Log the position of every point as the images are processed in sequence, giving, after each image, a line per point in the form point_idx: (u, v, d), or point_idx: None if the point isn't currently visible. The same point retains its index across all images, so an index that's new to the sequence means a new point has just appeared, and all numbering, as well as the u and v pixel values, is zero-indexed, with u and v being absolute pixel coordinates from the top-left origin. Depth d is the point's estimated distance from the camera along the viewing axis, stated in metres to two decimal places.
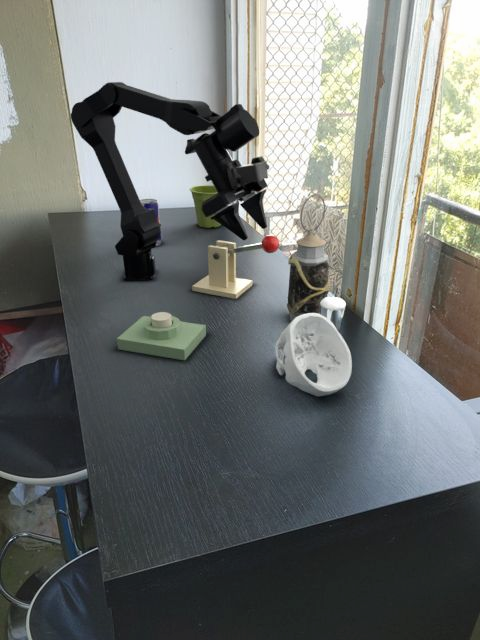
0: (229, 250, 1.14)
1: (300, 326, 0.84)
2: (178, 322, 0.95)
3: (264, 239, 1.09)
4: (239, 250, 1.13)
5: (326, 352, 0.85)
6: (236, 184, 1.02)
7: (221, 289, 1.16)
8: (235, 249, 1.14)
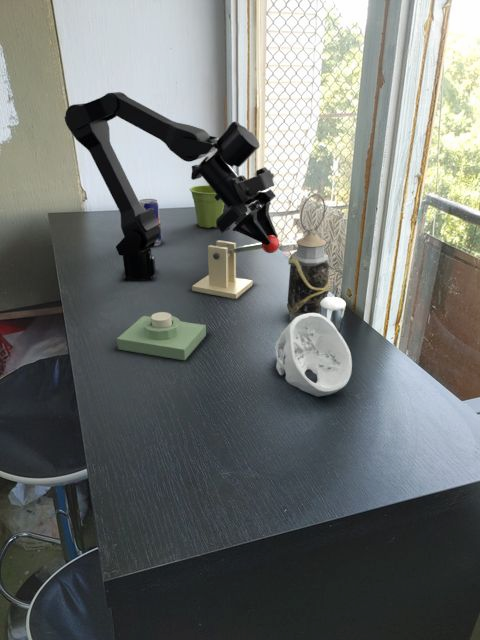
0: (229, 250, 1.14)
1: (300, 326, 0.84)
2: (178, 322, 0.95)
3: None
4: (239, 250, 1.13)
5: (326, 352, 0.85)
6: (245, 197, 1.05)
7: (221, 289, 1.16)
8: (235, 249, 1.14)
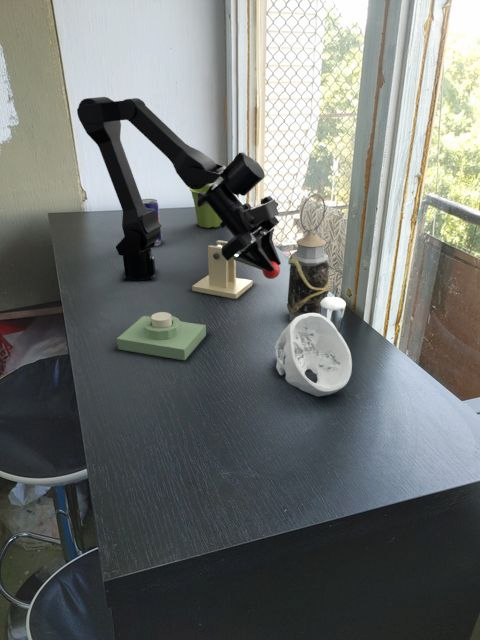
0: None
1: (300, 326, 0.84)
2: (178, 322, 0.95)
3: None
4: (239, 260, 1.14)
5: (326, 352, 0.85)
6: (250, 225, 1.07)
7: (221, 289, 1.16)
8: (236, 257, 1.14)
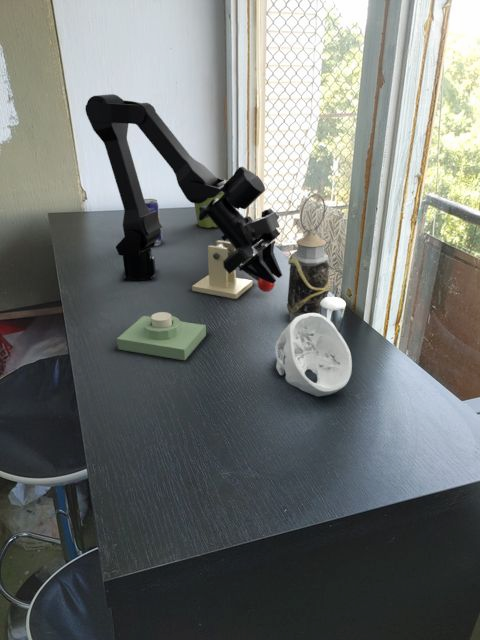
0: None
1: (300, 326, 0.84)
2: (178, 322, 0.95)
3: None
4: None
5: (326, 352, 0.85)
6: (251, 238, 1.08)
7: (221, 289, 1.16)
8: None
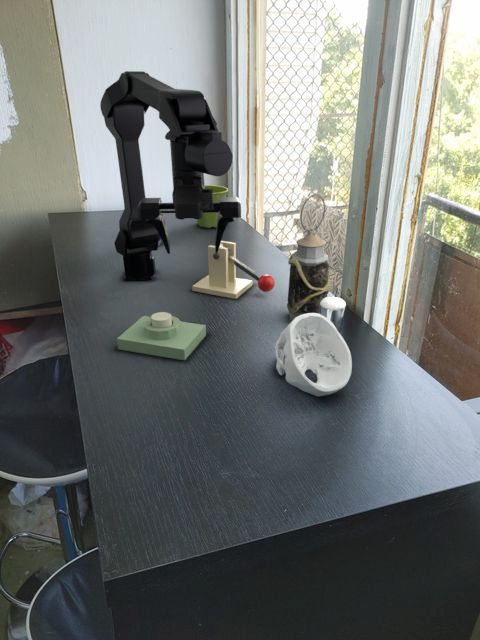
0: (229, 258, 1.15)
1: (300, 326, 0.84)
2: (178, 322, 0.95)
3: (264, 278, 1.13)
4: (237, 265, 1.15)
5: (326, 352, 0.85)
6: (173, 203, 0.94)
7: (221, 289, 1.16)
8: (235, 261, 1.15)
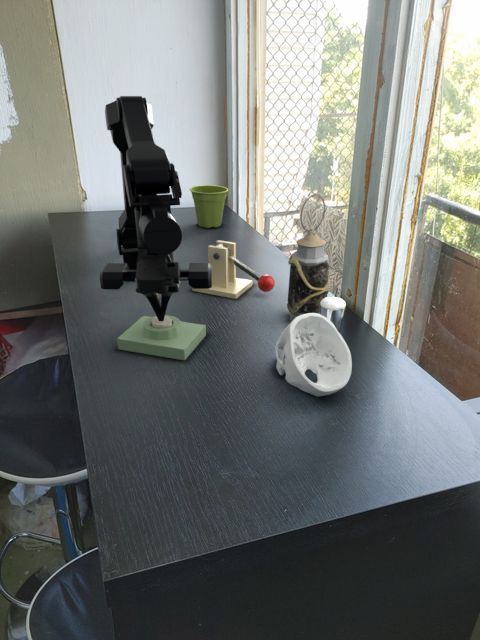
0: (229, 258, 1.15)
1: (300, 326, 0.84)
2: (178, 322, 0.95)
3: (264, 278, 1.13)
4: (237, 265, 1.15)
5: (326, 352, 0.85)
6: None
7: (221, 289, 1.16)
8: (235, 261, 1.15)
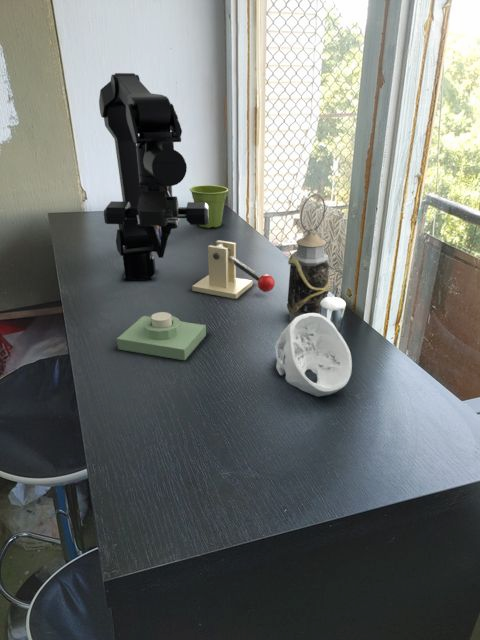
0: (229, 258, 1.15)
1: (300, 326, 0.84)
2: (178, 322, 0.95)
3: (264, 278, 1.13)
4: (237, 265, 1.15)
5: (326, 352, 0.85)
6: None
7: (221, 289, 1.16)
8: (235, 261, 1.15)
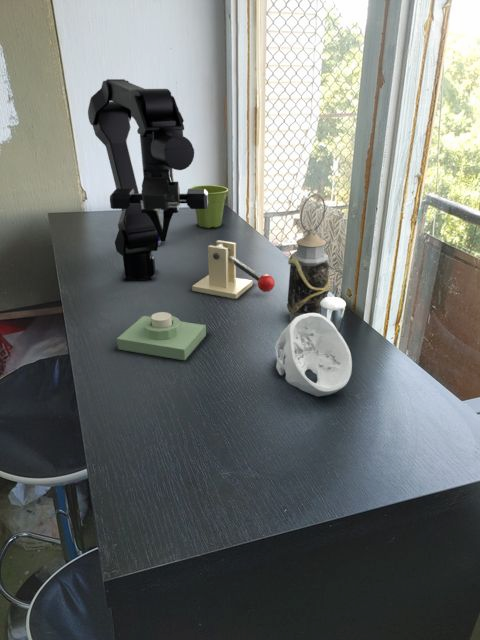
0: (229, 258, 1.15)
1: (300, 326, 0.84)
2: (178, 322, 0.95)
3: (264, 278, 1.13)
4: (237, 265, 1.15)
5: (326, 352, 0.85)
6: None
7: (221, 289, 1.16)
8: (235, 261, 1.15)
